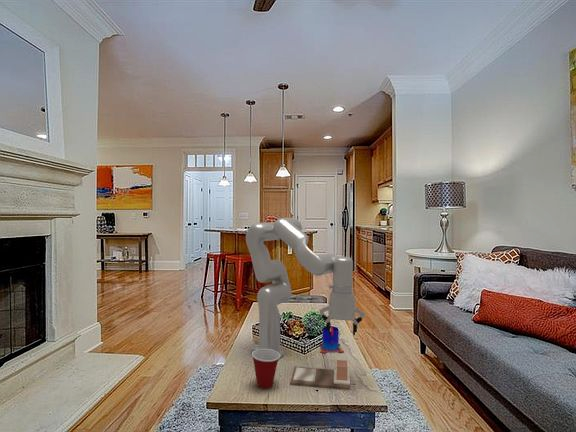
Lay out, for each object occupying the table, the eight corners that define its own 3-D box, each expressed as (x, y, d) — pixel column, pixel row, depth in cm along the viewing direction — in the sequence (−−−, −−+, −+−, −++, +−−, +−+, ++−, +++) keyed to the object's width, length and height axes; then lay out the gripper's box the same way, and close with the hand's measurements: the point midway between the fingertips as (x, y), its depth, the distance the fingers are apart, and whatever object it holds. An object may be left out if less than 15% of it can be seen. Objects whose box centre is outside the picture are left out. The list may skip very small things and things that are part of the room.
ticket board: (290, 384, 130) (290, 380, 130) (294, 368, 143) (294, 365, 143) (349, 390, 127) (349, 385, 127) (348, 373, 140) (348, 369, 140)
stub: (333, 383, 129) (333, 368, 129) (334, 371, 139) (334, 357, 139) (350, 385, 128) (350, 370, 128) (349, 372, 138) (349, 358, 138)
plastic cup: (282, 391, 126) (282, 358, 126) (252, 393, 124) (252, 360, 124) (277, 376, 137) (278, 346, 136) (250, 378, 135) (250, 348, 134)
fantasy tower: (345, 353, 159) (345, 327, 159) (320, 354, 158) (320, 328, 158) (339, 343, 171) (340, 319, 170) (316, 344, 170) (316, 319, 169)
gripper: (319, 290, 131) (318, 334, 132) (366, 292, 128) (364, 338, 129) (320, 285, 138) (319, 327, 139) (364, 288, 136) (363, 331, 136)
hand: (341, 332), depth 134 cm, fingers open, 9 cm apart
